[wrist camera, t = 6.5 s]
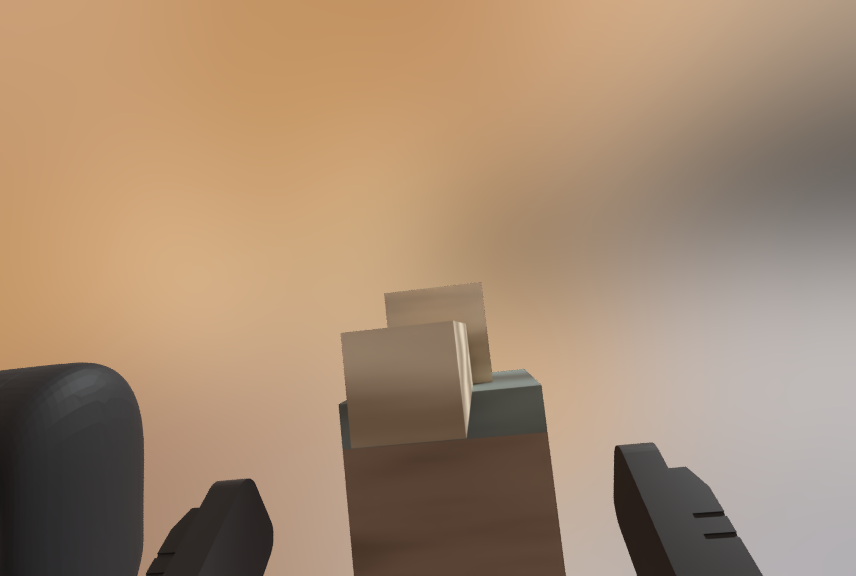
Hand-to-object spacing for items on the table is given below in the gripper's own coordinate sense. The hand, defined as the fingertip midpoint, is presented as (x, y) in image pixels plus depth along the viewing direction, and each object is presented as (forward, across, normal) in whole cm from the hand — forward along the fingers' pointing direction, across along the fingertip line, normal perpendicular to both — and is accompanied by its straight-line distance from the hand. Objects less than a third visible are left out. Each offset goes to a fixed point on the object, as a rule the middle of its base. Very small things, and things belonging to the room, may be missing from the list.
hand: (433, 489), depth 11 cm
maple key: (+9, -1, -4) cm, 10 cm away
